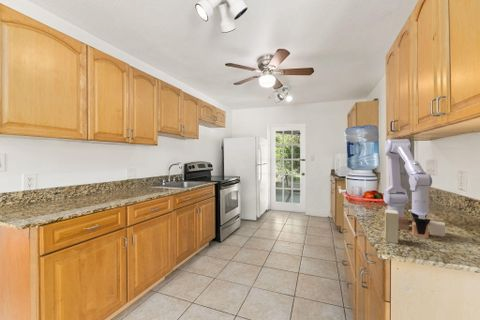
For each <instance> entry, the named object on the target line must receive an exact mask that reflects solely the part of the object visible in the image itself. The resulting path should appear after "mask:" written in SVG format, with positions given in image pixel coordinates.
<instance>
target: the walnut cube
mask: <svg viewBox="0 0 480 320" xmlns="http://www.w3.org/2000/svg"><path fill="white" fill-rule="evenodd" d="M409 224H410V220H409V218H408V217H406V216H404V217H401V216H399V221H398V230H407V231H408V230H410V227H409V226H410V225H409Z"/></svg>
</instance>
